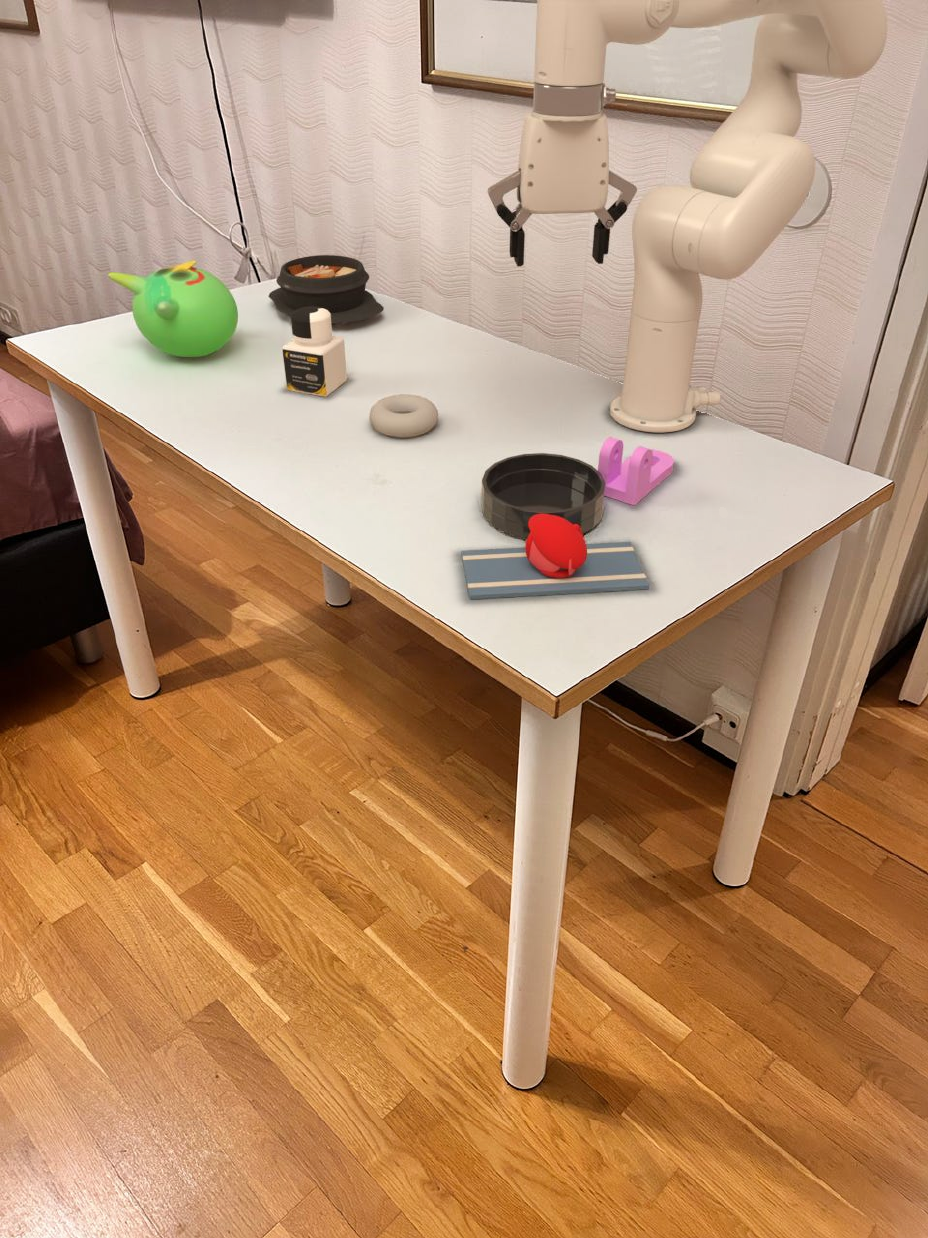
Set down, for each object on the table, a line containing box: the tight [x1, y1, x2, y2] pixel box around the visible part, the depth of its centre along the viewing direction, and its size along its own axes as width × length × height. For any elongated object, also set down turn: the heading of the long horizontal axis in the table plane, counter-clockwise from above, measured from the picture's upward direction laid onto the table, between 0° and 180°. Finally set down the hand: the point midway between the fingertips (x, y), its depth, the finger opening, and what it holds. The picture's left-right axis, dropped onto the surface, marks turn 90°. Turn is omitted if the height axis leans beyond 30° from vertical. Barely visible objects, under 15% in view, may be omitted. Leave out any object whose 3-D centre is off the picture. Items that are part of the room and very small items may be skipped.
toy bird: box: [107, 260, 239, 358], centre depth 155 cm, size 18×17×15 cm
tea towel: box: [461, 541, 650, 601], centre depth 106 cm, size 20×9×1 cm, turn 96°
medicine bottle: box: [281, 306, 348, 398], centre depth 145 cm, size 7×7×12 cm
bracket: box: [597, 436, 675, 506], centre depth 122 cm, size 13×6×7 cm, turn 144°
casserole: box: [268, 254, 385, 325], centre depth 173 cm, size 25×19×8 cm
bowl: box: [481, 452, 606, 540], centre depth 116 cm, size 15×15×4 cm
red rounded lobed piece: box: [524, 514, 587, 578], centre depth 104 cm, size 8×6×6 cm
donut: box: [368, 393, 439, 438], centre depth 136 cm, size 10×4×10 cm
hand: (558, 261), depth 113 cm, fingers open, 9 cm apart
